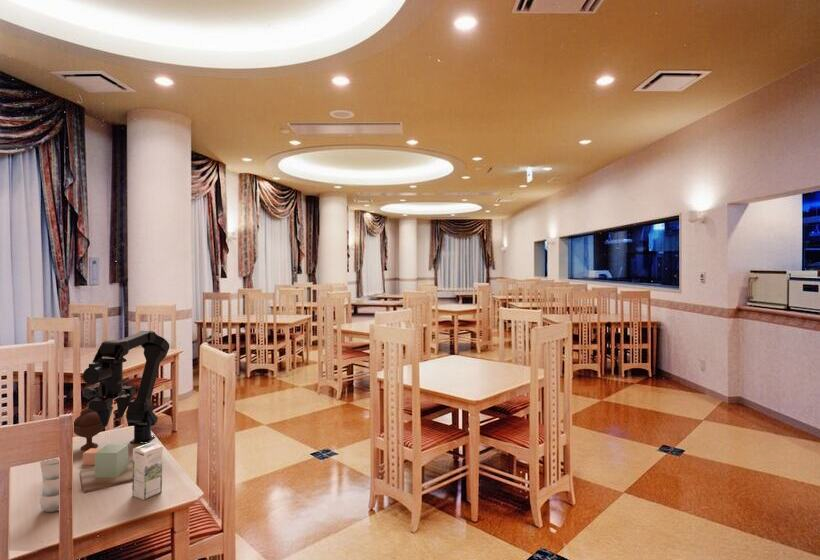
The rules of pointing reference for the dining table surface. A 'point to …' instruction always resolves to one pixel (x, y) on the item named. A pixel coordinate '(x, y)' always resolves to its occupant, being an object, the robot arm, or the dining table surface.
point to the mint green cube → (111, 461)
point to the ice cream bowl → (88, 427)
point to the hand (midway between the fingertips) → (113, 421)
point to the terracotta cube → (90, 456)
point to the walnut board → (98, 483)
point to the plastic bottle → (50, 485)
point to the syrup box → (147, 470)
